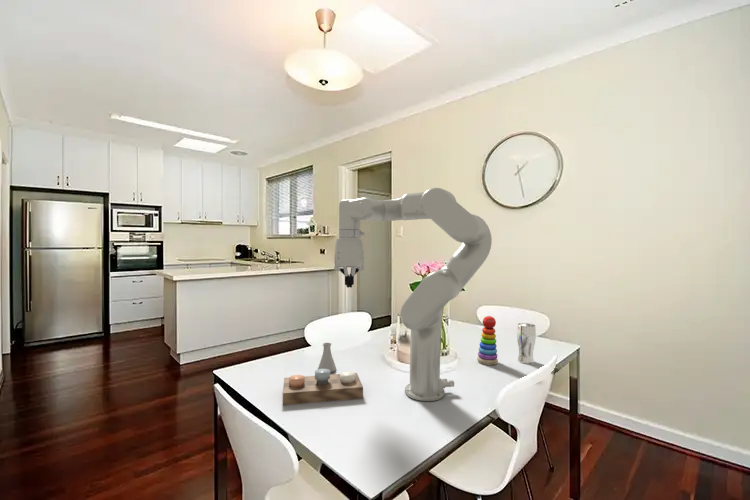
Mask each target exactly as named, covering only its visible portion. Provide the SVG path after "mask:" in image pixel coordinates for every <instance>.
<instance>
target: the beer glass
mask: <svg viewBox="0 0 750 500" xmlns="http://www.w3.org/2000/svg"><path fill="white" fill-rule="evenodd" d="M516 335H517V336H516V338H517V347H518V357H517V362H519V363H520V364H526V365H531V364H534V363H535V360H534V350H535V345H536V339H537V337H536V336H537V331H536V325H535V324H534V323H528V322H520V323H517V331H516Z"/></svg>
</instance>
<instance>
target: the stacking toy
mask: <svg viewBox="0 0 750 500" xmlns="http://www.w3.org/2000/svg"><path fill="white" fill-rule="evenodd" d="M496 323H497V322H496V319H495V318H494V316H491V315H487V316H484V318H483V320H482V325H483V326H484V327H482V329H481V330H482V332H481V338H480V342H479V347H478V353H477V358H476V359H477V362H478V363H480V364H482V365H486V366H493V365H497V364H498V362H499V361H498V353H497V352H498V350H497V344H496V343H497V339H496V336H497V335H496V334H495V333H496V329H495V326H496Z"/></svg>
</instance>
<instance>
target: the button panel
mask: <svg viewBox="0 0 750 500" xmlns="http://www.w3.org/2000/svg"><path fill="white" fill-rule="evenodd" d="M354 373H355V381H354V382H352V383H342V382H340V374H341V373H333V374H330V379H328V384H324V385H317V380H316V379H315V375H307V376H305V375H303V376H304V377H305V384H304V385H303V386H301V387H291V386H289V377H284V378H283V384H282V385H283V387H282V406H286V405H287V406H288V405H298V404H299V405H300V404H309V403H310V404H311V403H321V402H323V401H325V402H333V401H345V400H348V401H349V400H357V399H358V400H360V399H363V398H364V386H363V384H362V382H361V379H360V377H359V375H358V373H357V372H354Z"/></svg>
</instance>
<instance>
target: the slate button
mask: <svg viewBox="0 0 750 500" xmlns="http://www.w3.org/2000/svg"><path fill="white" fill-rule="evenodd" d="M330 375H331V373H330V370H329V369H318V368H317V369H316V370H315V371H314V376H315V379H316V380H317V385H324V384H328V379H330Z"/></svg>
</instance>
